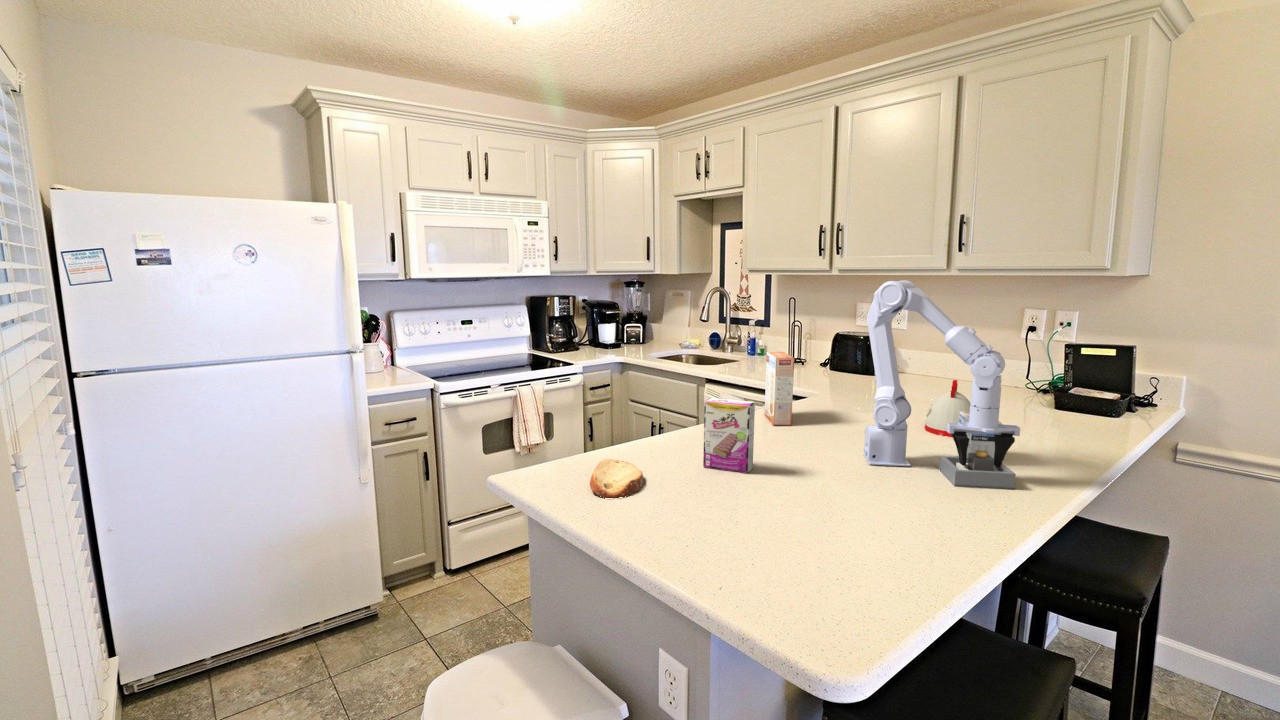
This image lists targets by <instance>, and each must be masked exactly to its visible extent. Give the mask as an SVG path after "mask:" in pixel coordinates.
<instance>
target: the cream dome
mask: <svg viewBox="0 0 1280 720" xmlns="http://www.w3.org/2000/svg"><path fill="white" fill-rule="evenodd" d="M951 383H952V385H951V390H950V391H947V392H944V393H943V394H941V395H940V396H939V397H938V398H937V399H936V400H935V401H934V402H933V404H932V403H931V404H930V405H929V407H928V409H927V413H926V418H925V424H924V430H925V431H926V432H928V433H930V434H932V433H933V435H936V436H940V435H941V436H942V437H945V436H947V438H953V437H952V435H951V433H948V432H947V431H946V430H947V423H959V414H960V412H970V401H971V400H969V399H968V398H967V397H966V396H965V395H964V394H963V393H961V392H960V391H958V384H959V383H958V380H957V379H953V380H952V382H951Z"/></svg>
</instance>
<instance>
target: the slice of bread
mask: <svg viewBox="0 0 1280 720" xmlns="http://www.w3.org/2000/svg"><path fill="white" fill-rule="evenodd" d="M643 484H644V475H643V471H642V470H641V469H638V467H637V466H636V465H634V464H632V463H629V462H627V461H623V460H619V459H612V458H607V459H606V458H605V459H603V460H601V461H600V462H599V463H598V464H597V465H596V466H595V468H594V469H593V472H592V474H591V476H590V480H589V487H590V490H591V491H592V492H593V493H594V494H595V495H596V496H598V497H599V496H601V497H600V498H602V497H604V498H603V499H605V498H619V497H625V496H626V497H628V496H630V495H632V494H635V493H637V492H638V491H640V490H641V489H640V488H642V487H643ZM636 491H637V492H636ZM634 492H635V493H634ZM631 493H632V494H631ZM629 494H630V495H629ZM627 495H628V496H627ZM626 497H625V498H626ZM619 499H620V498H619Z"/></svg>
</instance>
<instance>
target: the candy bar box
mask: <svg viewBox="0 0 1280 720" xmlns="http://www.w3.org/2000/svg"><path fill="white" fill-rule="evenodd" d="M755 412H756V402H755V401H748V400H739V399H738V400H737V399H730V398H729V399H727V398H722V397H721V398H719V397H718V398H717V397H710V398H708V399H706V400H705V401H704V414H703V415H704V417H703V419H704V421H703V458H702V459H703V463H702V465H703V466H702V467H703V468H709V469H715V470H723V471H729V472H736V473H741V474H749V473H750V471H752V469H753V468H754V446H755V445H754V440H755V414H756V413H755ZM748 472H749V473H748Z"/></svg>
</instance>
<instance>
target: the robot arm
mask: <svg viewBox="0 0 1280 720" xmlns="http://www.w3.org/2000/svg"><path fill="white" fill-rule="evenodd" d="M901 310H905V311H908V312H909V311H910V312H915V313H917V314H920V315H921V317H923V318H924V319H925V320H926V321H927V322H928V323H930V324H931V325H932V326H933V327H934V328H935V329H936V330H938V331H939V332H941V334H943V336H944V344H945V345H946V346H947V347H948V348H949V350H951V351H952V352H953V353H955V355H956V356H957V357H958V358H960V360H962V362H963V363H964V364H966V365H969V371H970V373H971V375H972V384H971V392H970V400H969V401H970V413H969V422H965V423H947V430H946V431H947V432H948V433H951V435H952V437H951V438H952V439H953V442H954V444H955V446H956V452H957V451H958V452H957V456H958V457H959V463H960V464H961V465H962V466H966V460H967V448H968V444H969V440H970V439H969V438H968V437H967V435H966V433H972V434H994V438H995V453H994V465H995V466H997V467H1001V464H1003V461H1004V458H1005V456H1006V455H1007V452H1008V451H1009V450H1010V448H1011V447H1012V445H1013V444H1014V443H1015V441H1016V438H1015V437H1020V434H1021V433H1020V432H1021V427H1020V426H1018V425H1014V424H1013V425H1012V424H1002V423H1001V424H998V421H1000V420H999V417H1000V407H1001V395H1002V385H1001V384H1002V375H1000V374H1002V373H1003V372H1004V370H1005V367H1006V361H1005V359H1004V357H1003V355H1002V354H1001V353H1000V352H999V351H997V350H993V346H991V345H990V344H989V345H987V344H986V343H985V342H984V341H983V340H982V339H981V338H979V337H978V336H977V335H976V333H977V331H976V330H975V329H974V328H972V327H971V328H969V327H967V326H966V325H957V324H956V323H955V322H954V321H953V320H952V319H951V318H950V317H949V316H948V315H947V314H946V313H945V312H944V311H943V310H942V309H941V308H940V307H939V306H938V305H937V304H936V303H935V302H934V301H933V300H932V299H931V298H930V297H929V296H928V295H927V294H926V293H925V292H924V291H923V290H922V289H921V288H918V287H916V286H915V284H914V283H913V282H911V281H910V280H905V279H902V280H888V281H886V282H884V283H883V284H882V285H880V286H879V288H878V289H876V291H875V292H874V293H873V300H872V303H871V304H870V307H869V309H868V313H867V315H866V322H867V329H868V335H869V341H870V348H871V354H872V361H873V367H874V374H875V380H876V387H877V388H876V393H875V396H874V404H875V405H874V409H873V411H872V416H873V417H872V418H873V420H874V421H875V424H872V425H866V426H865V430H864V443H863V444H864V445H863V446H864V448H863V457H864V458H865V460H866V462H867V463H868V465H870V466H887V467H888V466H889V467H890V466H891V467H892V466H894V467H911V463H909V461H908V460H907V458H906V457H907V455H906V454H907V441H908V440H907V439H908V424H907V420H908V418H909V417H910V416H911V414H912V406H911V404H910V402H909V400H908V399H907V397H906V392H905V389H904V388H903V387H902V386H901V383H900V382H901V381H900V376H899V370H898V369H899V368H898V362H897V355H896V348H895V341H894V336H893V329H892V321H893V319H894V318H895V317H896V316H897V315H898V314H899V313H900V312H901Z"/></svg>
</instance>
